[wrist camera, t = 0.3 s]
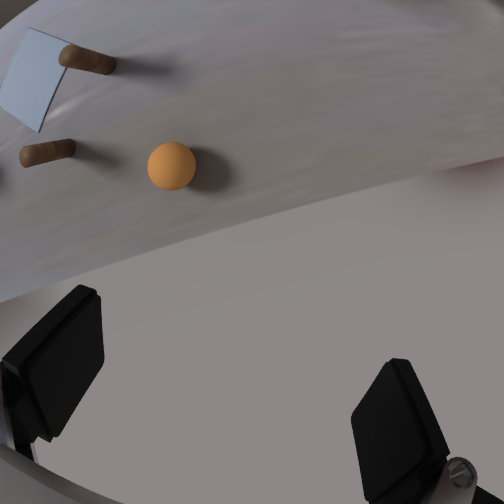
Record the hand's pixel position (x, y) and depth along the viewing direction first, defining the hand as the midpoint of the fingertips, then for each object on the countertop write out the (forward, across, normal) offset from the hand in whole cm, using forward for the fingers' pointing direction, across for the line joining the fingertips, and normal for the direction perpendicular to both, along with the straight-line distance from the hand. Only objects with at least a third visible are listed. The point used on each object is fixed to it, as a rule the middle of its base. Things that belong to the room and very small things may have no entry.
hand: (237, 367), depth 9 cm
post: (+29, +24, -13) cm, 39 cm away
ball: (+26, +11, -1) cm, 28 cm away
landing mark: (+29, +39, -12) cm, 50 cm away
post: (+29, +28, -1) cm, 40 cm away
